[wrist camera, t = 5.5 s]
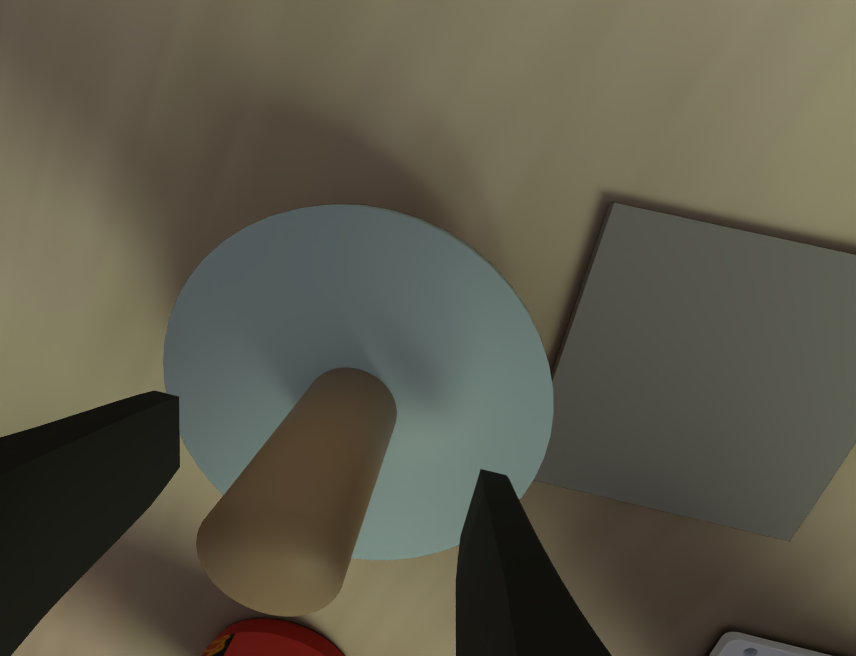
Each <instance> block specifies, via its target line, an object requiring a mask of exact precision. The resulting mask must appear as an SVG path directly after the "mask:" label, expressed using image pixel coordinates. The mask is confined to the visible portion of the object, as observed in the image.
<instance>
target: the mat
mask: <svg viewBox="0 0 856 656" xmlns="http://www.w3.org/2000/svg"><path fill="white" fill-rule="evenodd" d="M551 379H552V385H553V412H554V414H553V421H552V428H551V435H550V439H549V443H548V446H547V449H546V453H545V456H544V459H543V461H542V463H541V465H540V468H539V470H538V472H537V474H536V476H535V478H534V480H535V481H539V482H543V483H547V484H551V485H555V486H560V487H564V488H568V489H572V490H576V491H580V492H585V493H589V494H593V495H597V496H601V497H606V498H610V499H614V500H618V501H622V502H626V503H631V504H635V505H639V506H643V507H647V508H651V509H656V510H660V511H664V512H668V513H672V514H676V515H681V516H685V517H689V518H693V519H697V520H701V521H706V522H710V523H714V524H718V525H722V526H726V527H731V528H735V529H739V530H743V531H747V532H751V533H756V534H760V535H764V536H768V537H772V538H776V539H781V540H785V541H789V542H790V540H791V539H792V537H793V536H794V534H795V533H796V531H797V530H798V528H799V527H800V525H801V524H802V522H803V521H804V520H805V518H806V517H807V515H808V514H809V512H810V511H811V509H812V508H813V506H814V505H815V503H816V502H817V500H818V499H819V497H820V496H821V494H822V493H823V491H824V490H825V488H826V487H827V485H828V484H829V482H830V481H831V479H832V478H833V476H834V475H835V473H836V472H837V470H838V469H839V467H840V466H841V464H842V463H843V461H844V460H845V458H846V457H847V455H848V454H849V452H850V451H851V449H852V448H853V446H854V445H855V443H856V255H854V254H849V253H845V252H840V251H835V250H831V249H826V248H822V247H817V246H812V245H808V244H803V243H798V242H794V241H789V240H785V239H780V238H775V237H771V236H766V235H762V234H757V233H752V232H748V231H743V230H738V229H734V228H729V227H725V226H720V225H715V224H711V223H706V222H701V221H697V220H692V219H688V218H683V217H678V216H674V215H669V214H665V213H660V212H655V211H651V210H646V209H641V208H637V207H632V206H628V205H623V204H618V203H614V202H610V204H609V207H608V210H607V213H606V216H605V218H604V221H603V224H602V227H601V230H600V233H599V236H598V239H597V242H596V245H595V248H594V251H593V254H592V257H591V259H590V262H589V265H588V268H587V271H586V274H585V277H584V280H583V283H582V286H581V289H580V292H579V295H578V298H577V300H576V303H575V306H574V309H573V312H572V315H571V318H570V321H569V324H568V327H567V330H566V333H565V336H564V339H563V342H562V344H561V347H560V350H559V353H558V356H557V359H556V362H555V365H554V368H553V371H552V374H551Z"/></svg>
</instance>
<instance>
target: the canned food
mask: <svg viewBox="0 0 856 656" xmlns="http://www.w3.org/2000/svg"><path fill="white" fill-rule="evenodd" d="M201 656H343V654H342V653H341V652H340V651H339V650H338V649H337V648H336V647H335V646H334V645H333V644H332V643H331V642H329V641H328V640H327V639H325V638H324V637H322V636H321V635H320V634H318V633H316V632H314V631H312V630H310V629H308V628H306V627H303V626H300V625H298V624H295V623H292V622H287V621H283V620H278V619H267V618H261V619H249V620H245V621H241V622H237V623H235V624H233V625H231V626H228V627H227V628H226V629H225V630H223V631H222V632H221V633H220V634H219V635H218V636H217V637H216V638H215V639H214V640H213V641H212V642H211V643H210V644H209V645H208V646H207V648H206V649H205V651H204V652H203V654H202V655H201Z"/></svg>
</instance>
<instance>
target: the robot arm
mask: <svg viewBox="0 0 856 656" xmlns="http://www.w3.org/2000/svg"><path fill="white" fill-rule="evenodd" d="M179 467H180V434H179V396H175V395H171V394H166V393H162V392H158V391H151V392H147V393H143V394H139V395H136V396H132V397H129V398H126V399H123V400H119V401H116V402H113V403H110V404H107V405H104V406H100V407H97V408H94V409H91V410H88V411H85V412H82V413H79V414H76V415H72V416H69V417H66V418H63V419H60V420H57V421H54V422H51V423H48V424H44V425H41V426H38V427H35V428H31V429H28V430H24V431H21V432H18V433H14V434H11V435H7V436H4V437H1V438H0V656H11V655H12V654H13V653H14V651H15V650H16V649H17V648H18V647H19V645H20V644H21V643H22V642H23V641H24V639H25V638H26V637H27V636H28V635H29V633H30V632H31V631H32V630H33V629H34V627H35V626H36V625H37V624H38V623H39V621H40V620H41V619H42V618H43V617H44V616H45V615H46V614H47V613H48V612H49V610H50V609H51V608H52V607H53V606H54V605H55V604H56V603H57V602H58V601H59V600H60V598H61V597H62V596H63V595H64V594H65V593H66V592H67V591H68V590H69V589H70V588H71V587H72V586H73V585H74V584H75V583H76V582H77V581H78V580H79V579H80V578H81V577H82V576H83V575H84V574H85V573H86V572H87V571H88V570H89V569H90V568H91V567H92V566H93V565H94V564H95V563H96V562H97V560H98V559H99V558H100V557H101V556H102V555H103V554H104V553H105V552H106V551H107V550H108V549H109V548H110V547H111V546H112V545H113V544H114V543H115V542H116V541H117V540H118V539H119V538H120V537H121V536H122V535H123V534H124V533H125V532H126V531H127V530H128V529H129V528H130V527H131V526H132V525H133V523H134V522H135V521H136V520H137V519H138V518H139V517H140V516H141V515H142V514H143V513H144V512H145V511H146V510H147V509H148V508H149V507H150V506H151V504H152V503H153V502H154V501H155V499H156V498H157V497H158V495H159V494H160V493H161V492H162V490H163V489H164V488H165V486H166V485H167V484H168V482H169V481H170V480H171V478H172V477H173V476H174V474H175V473H176V472H177V470H178V469H179ZM456 656H611V654H610V653H609V651H608V650H607V649H606V647H605V646H604V644H603V643H602V642H601V640H600V639H599V637H598V636H597V634H596V633H595V632H594V630H593V629H592V627H591V626H590V624H589V623H588V621H587V620H586V618H585V617H584V615H583V614H582V612H581V611H580V609H579V607H578V606H577V604H576V603H575V601H574V600H573V598H572V596H571V595H570V593H569V591H568V590H567V588H566V586H565V585H564V583H563V582H562V580H561V578H560V576H559V575H558V573H557V571H556V570H555V568H554V566H553V564H552V563H551V561H550V559H549V557H548V555H547V553H546V552H545V550H544V548H543V546H542V544H541V542H540V541H539V539H538V537H537V535H536V533H535V531H534V529H533V527H532V525H531V523H530V521H529V519H528V517H527V515H526V513H525V511H524V509H523V507H522V505H521V503H520V501H519V499H518V496H517V494H516V492H515V490H514V488H513V486H512V483H511V481H510V479H509V478H508V476H507V475H504V474H500V473H496V472H491V471H487V470H483V469H480V473H479V476H478V479H477V483H476V486H475V489H474V493H473V496H472V499H471V502H470V506H469V509H468V512H467V516H466V519H465V522H464V526H463V529H462V532H461V536H460V544H459V554H458V564H457V574H456ZM709 656H832V655H828V654H824V653H820V652H816V651H812V650H808V649H804V648H800V647H796V646H792V645H788V644H784V643H779V642H775V641H771V640H767V639H763V638H759V637H755V636H751V635H747V634H743V633H739V632H728V633H726V634H724V635H723V636H722V637H721V638H720V640H719V641H718V643H717V644H716V646H715V647H714V649H713V650H712V652H711V653H710V655H709Z"/></svg>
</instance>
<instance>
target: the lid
mask: <svg viewBox="0 0 856 656" xmlns="http://www.w3.org/2000/svg"><path fill="white" fill-rule="evenodd" d="M163 366H164V380H165V388H166V393H167V394H171V395H175V396H179V433H180V435H181V437H182V440H183V442H184V444H185V446H186V448H187V449H188V451H189V452H190V454H191V456H192V457H193V459H194V460H195V462H196V463H197V465H198V467H199V468H200V469H201V470H202V472H203V473H204V474H205V475H206V477H207V478H208V479H209V480H210V482H211V483H212V484H213V485H214V486H215V487H216V488H217V489H218V490H219V491H220V492H221V493H222V494H223V497H222V498H221V499H220V500H219V502H218V503H217V504H216V505H215V507H214V508H213V509H212V510H211V512H210V513H209V514H208V516H207V517H206V518H205V519H204V521H203V522H202V524H201V526H200V528H199V531H198V534H197V541H196V544H197V553H198V557H199V560H200V563H201V565H202V567H203V569H204V571H205V572H206V574H207V575H208V577H209V578H210V579H211V581H212V582H213V583H214V584H215V585H216V586H217V587H218V588H219V589H220V590H221V591H222V592H223V593H225V594H226V595H227V596H229V597H230V598H232V599H233V600H235V601H236V602H238V603H240V604H242V605H244V606H246V607H248V608H250V609H253V610H255V611H258V612H262V613H265V614H270V615H276V616H301V615H306V614H310V613H313V612H316V611H318V610H320V609H322V608H324V607H325V606H327V605H328V604H329V603H330V602H332V601H333V600H334V599H335V597H336V596H337V595H338V593H339V591H340V589H341V587H342V584H343V581H344V578H345V575H346V572H347V569H348V566H349V563H350V560H351V558H356V559H365V560H397V559H408V558H415V557H420V556H425V555H429V554H434V553H437V552H440V551H443V550H446V549H449V548H452V547H455V546H457V545H459V544H460V536H461V532H462V529H463V526H464V522H465V519H466V516H467V512H468V509H469V506H470V502H471V499H472V496H473V493H474V489H475V486H476V483H477V479H478V476H479V473H480V469H483V470H487V471H491V472H496V473H500V474H504V475H507V476H508V478H509V479H510V481H511V483H512V486H513V488H514V490H515V492H516V494H517V496H518V499H519V500H520V499H521V497H522V496H523V495H524V493H525V492H526V490H527V489H528V487H529V486H530V484H531V483H532V481H533V480H534V478H535V476H536V474H537V472H538V470H539V468H540V465H541V463H542V461H543V459H544V456H545V453H546V449H547V446H548V443H549V439H550V435H551V428H552V421H553V414H554V412H553V385H552V379H551V374H550V368H549V363H548V360H547V357H546V354H545V351H544V348H543V344H542V341H541V338H540V336H539V333H538V331H537V329H536V327H535V325H534V323H533V321H532V319H531V317H530V315H529V312H528V310H527V308H526V307H525V305H524V304H523V302H522V301H521V299H520V298H519V296H518V295H517V294H516V292H515V291H514V289H513V288H512V286H511V285H510V284H509V283H508V281H507V280H506V279H505V278H504V277H503V276H502V275H501V274H500V273H499V272H498V270H497V269H496V268H495V267H494V266H493V265H492V264H491V263H490V262H489V261H487V260H486V259H485V258H484V257H483V256H481V255H480V254H479V253H478V252H477V251H475V250H474V249H473V248H472V247H471V246H469V245H468V244H466V243H465V242H463V241H462V240H460V239H458V238H457V237H455V236H454V235H452V234H451V233H449V232H447V231H446V230H444V229H442V228H439V227H437V226H435V225H433V224H431V223H429V222H426V221H424V220H422V219H420V218H417V217H414V216H411V215H407V214H404V213H401V212H398V211H395V210H391V209H385V208H379V207H374V206H368V205H355V204H330V205H321V206H312V207H305V208H299V209H295V210H291V211H288V212H284V213H280V214H276V215H272V216H270V217H267V218H265V219H263V220H260V221H258V222H256V223H253V224H251V225H249V226H246V227H245V228H243V229H242V230H240V231H238V232H237V233H235V234H234V235H232V236H230V237H229V238H227V239H226V240H224V241H223V242H222V243H221V244H220V245H218V246H217V247H216V248H215V249H214V250H213V251H212V252H210V253H209V254H208V255H207V256H206V257H205V258H204V259H203V260H202V262H201V263H200V264H199V265H198V267H197V268H196V269H195V270H194V271H193V273H192V274H191V275H190V276H189V278H188V280H187V282H186V283H185V285H184V287H183V288H182V290H181V292H180V294H179V295H178V297H177V300H176V303H175V305H174V308H173V310H172V313H171V315H170V318H169V323H168V327H167V332H166V337H165V344H164V358H163Z"/></svg>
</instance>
